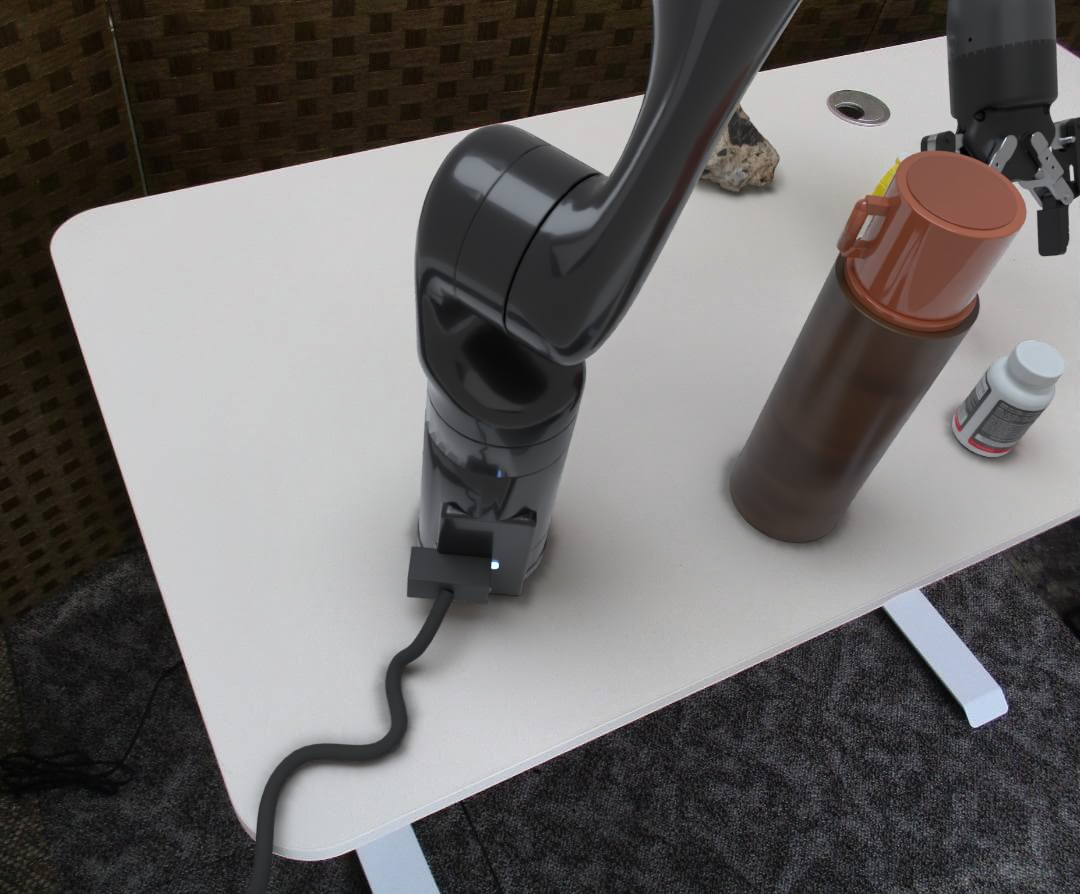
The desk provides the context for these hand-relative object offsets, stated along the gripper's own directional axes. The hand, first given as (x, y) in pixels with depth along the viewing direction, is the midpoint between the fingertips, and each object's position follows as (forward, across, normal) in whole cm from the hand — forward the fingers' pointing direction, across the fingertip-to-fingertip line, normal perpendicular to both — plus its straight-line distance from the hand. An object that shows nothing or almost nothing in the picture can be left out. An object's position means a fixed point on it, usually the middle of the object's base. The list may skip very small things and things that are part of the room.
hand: (1010, 262), depth 79 cm
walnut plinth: (+16, -20, +3) cm, 26 cm away
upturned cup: (-1, -20, -13) cm, 24 cm away
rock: (-11, -8, +30) cm, 33 cm away
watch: (-5, +7, +24) cm, 26 cm away
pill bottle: (+15, 0, +4) cm, 15 cm away
